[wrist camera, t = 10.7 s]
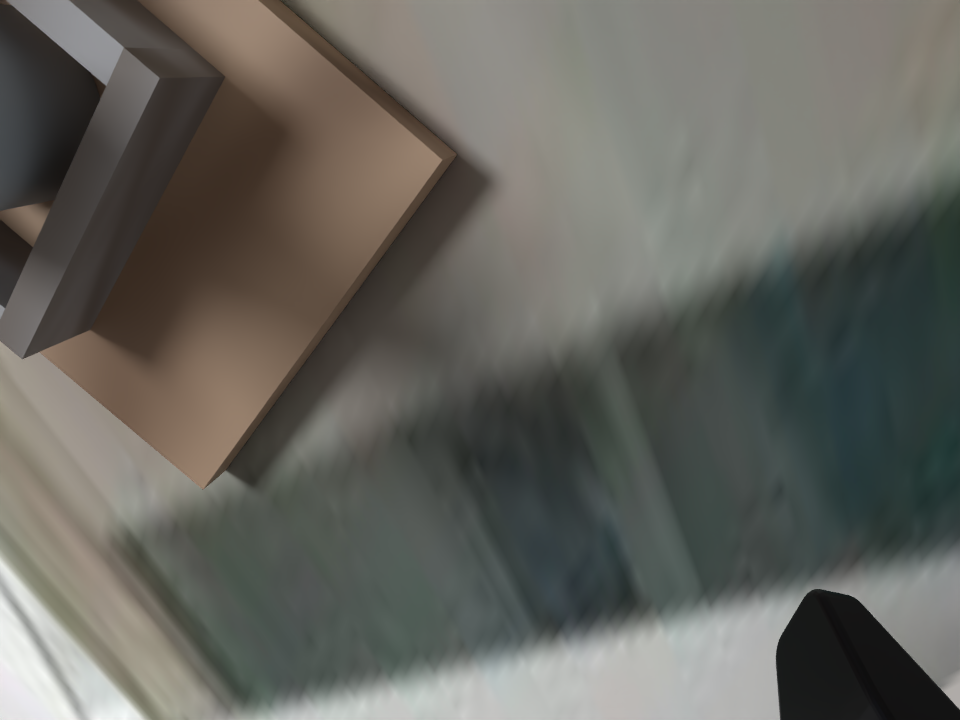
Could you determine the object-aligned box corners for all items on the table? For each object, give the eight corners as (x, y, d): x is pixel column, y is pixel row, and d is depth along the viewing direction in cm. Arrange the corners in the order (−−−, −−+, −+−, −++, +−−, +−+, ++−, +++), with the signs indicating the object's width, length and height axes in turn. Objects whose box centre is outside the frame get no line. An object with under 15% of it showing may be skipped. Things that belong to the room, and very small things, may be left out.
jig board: (457, 154, 19) (404, 173, 16) (225, 470, 25) (150, 534, 21) (-168, -389, 18) (-362, -490, 15) (-259, 64, 24) (-413, 64, 21)
